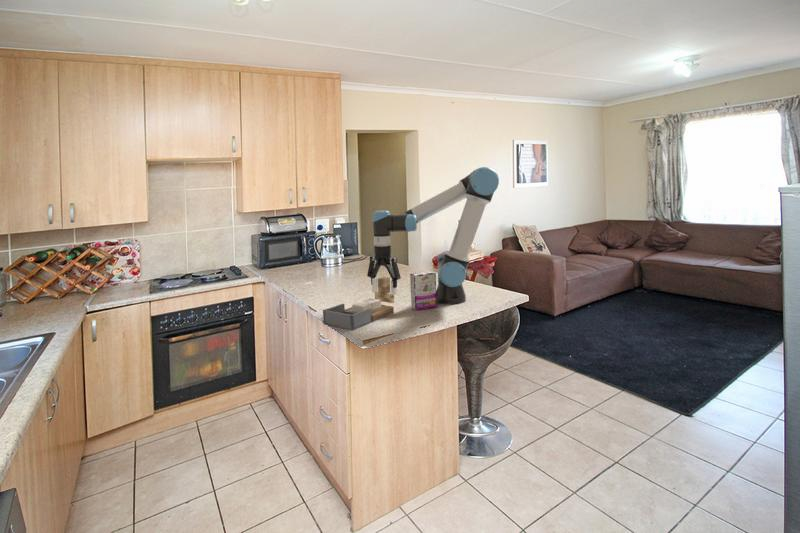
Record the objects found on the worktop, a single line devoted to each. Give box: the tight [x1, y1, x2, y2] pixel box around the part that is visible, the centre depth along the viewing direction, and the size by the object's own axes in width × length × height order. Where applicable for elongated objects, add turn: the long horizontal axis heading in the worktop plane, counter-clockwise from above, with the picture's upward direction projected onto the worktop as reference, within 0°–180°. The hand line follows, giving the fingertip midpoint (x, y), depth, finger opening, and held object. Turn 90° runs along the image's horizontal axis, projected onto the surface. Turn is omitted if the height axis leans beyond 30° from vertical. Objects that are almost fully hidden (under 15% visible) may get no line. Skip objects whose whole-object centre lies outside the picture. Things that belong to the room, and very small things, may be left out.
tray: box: [322, 303, 373, 331], centre depth 180 cm, size 16×12×6 cm
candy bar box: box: [409, 270, 438, 311], centre depth 199 cm, size 11×5×16 cm, turn 114°
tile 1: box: [351, 301, 372, 312], centre depth 187 cm, size 6×6×3 cm
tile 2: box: [361, 298, 382, 310], centre depth 192 cm, size 6×6×3 cm
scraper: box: [374, 276, 395, 304], centre depth 199 cm, size 10×4×11 cm, turn 55°
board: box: [345, 304, 395, 323], centre depth 191 cm, size 16×15×3 cm
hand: (384, 293), depth 199 cm, fingers closed on scraper, 10 cm apart
